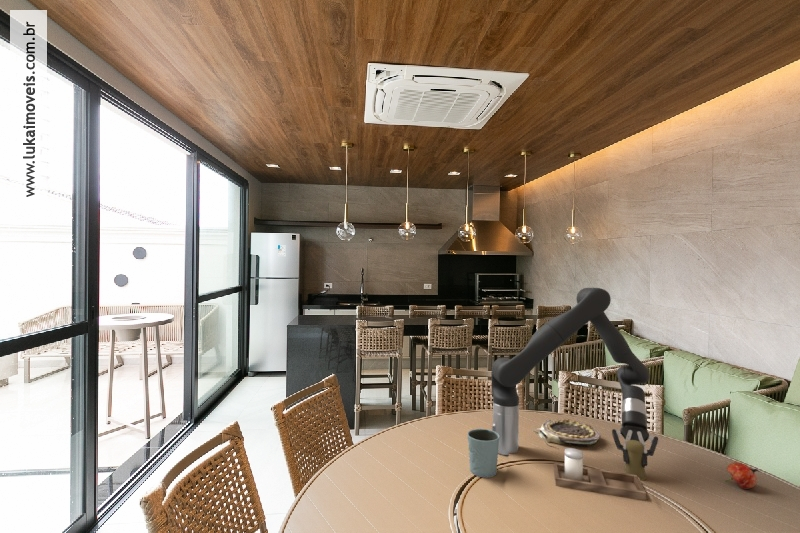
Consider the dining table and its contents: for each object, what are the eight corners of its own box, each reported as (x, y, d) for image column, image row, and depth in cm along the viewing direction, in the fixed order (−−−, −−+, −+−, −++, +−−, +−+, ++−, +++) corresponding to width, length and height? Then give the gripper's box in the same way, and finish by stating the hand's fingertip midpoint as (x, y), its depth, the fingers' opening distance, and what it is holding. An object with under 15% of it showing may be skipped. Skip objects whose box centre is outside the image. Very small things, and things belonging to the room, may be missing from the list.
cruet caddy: (555, 488, 122) (555, 478, 122) (553, 472, 133) (553, 462, 133) (646, 503, 115) (646, 493, 115) (636, 484, 125) (636, 475, 125)
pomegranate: (729, 495, 125) (763, 485, 119) (712, 469, 129) (744, 459, 123) (736, 490, 129) (770, 481, 123) (720, 466, 133) (752, 456, 127)
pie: (563, 422, 180) (563, 410, 180) (624, 445, 157) (625, 432, 157) (519, 434, 165) (520, 422, 165) (580, 462, 142) (580, 447, 142)
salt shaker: (565, 482, 124) (565, 454, 124) (563, 474, 129) (564, 447, 129) (583, 485, 123) (583, 456, 123) (581, 477, 128) (581, 449, 128)
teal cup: (501, 468, 135) (502, 431, 135) (495, 482, 126) (495, 443, 126) (471, 461, 139) (472, 426, 139) (463, 474, 130) (464, 437, 130)
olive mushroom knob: (648, 481, 128) (649, 446, 128) (627, 479, 129) (628, 444, 129) (641, 472, 134) (641, 438, 134) (621, 470, 135) (621, 436, 135)
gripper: (610, 406, 142) (610, 454, 131) (659, 413, 135) (662, 465, 124) (610, 416, 146) (610, 464, 135) (657, 424, 140) (660, 475, 129)
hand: (635, 464), depth 130 cm, fingers closed on olive mushroom knob, 4 cm apart
